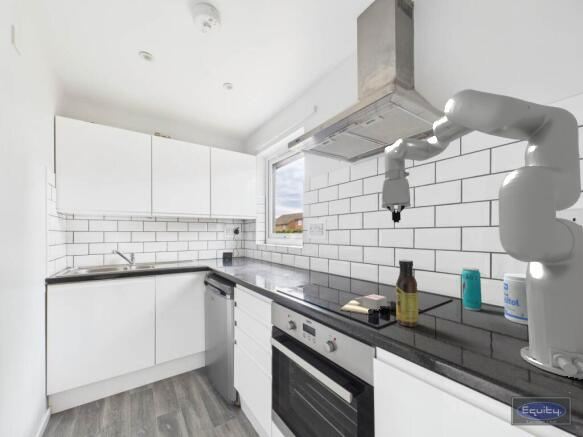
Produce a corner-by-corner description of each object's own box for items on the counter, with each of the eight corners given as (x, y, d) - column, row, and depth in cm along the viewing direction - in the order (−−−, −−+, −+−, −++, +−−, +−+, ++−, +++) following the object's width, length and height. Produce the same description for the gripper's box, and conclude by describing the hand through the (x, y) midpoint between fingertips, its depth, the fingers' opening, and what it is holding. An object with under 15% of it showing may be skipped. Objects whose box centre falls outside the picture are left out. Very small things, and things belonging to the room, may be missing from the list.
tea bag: (376, 310, 91) (354, 304, 98) (387, 307, 95) (364, 301, 103) (376, 300, 91) (354, 294, 99) (386, 297, 95) (364, 292, 103)
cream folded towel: (370, 315, 87) (370, 313, 87) (340, 310, 93) (340, 308, 93) (379, 305, 99) (379, 303, 99) (352, 301, 105) (351, 300, 105)
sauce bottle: (397, 319, 83) (395, 258, 84) (418, 322, 80) (416, 259, 81) (395, 326, 77) (394, 260, 78) (418, 329, 74) (416, 261, 75)
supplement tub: (497, 317, 85) (495, 273, 86) (520, 315, 87) (518, 272, 87) (528, 327, 75) (526, 278, 76) (554, 326, 77) (551, 277, 78)
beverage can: (461, 306, 98) (460, 267, 99) (479, 307, 96) (478, 268, 97) (464, 310, 93) (462, 269, 94) (483, 312, 91) (481, 270, 92)
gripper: (416, 176, 100) (418, 222, 99) (377, 180, 108) (378, 223, 107) (415, 172, 94) (416, 221, 93) (373, 177, 101) (375, 222, 100)
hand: (396, 222), depth 100 cm, fingers closed
